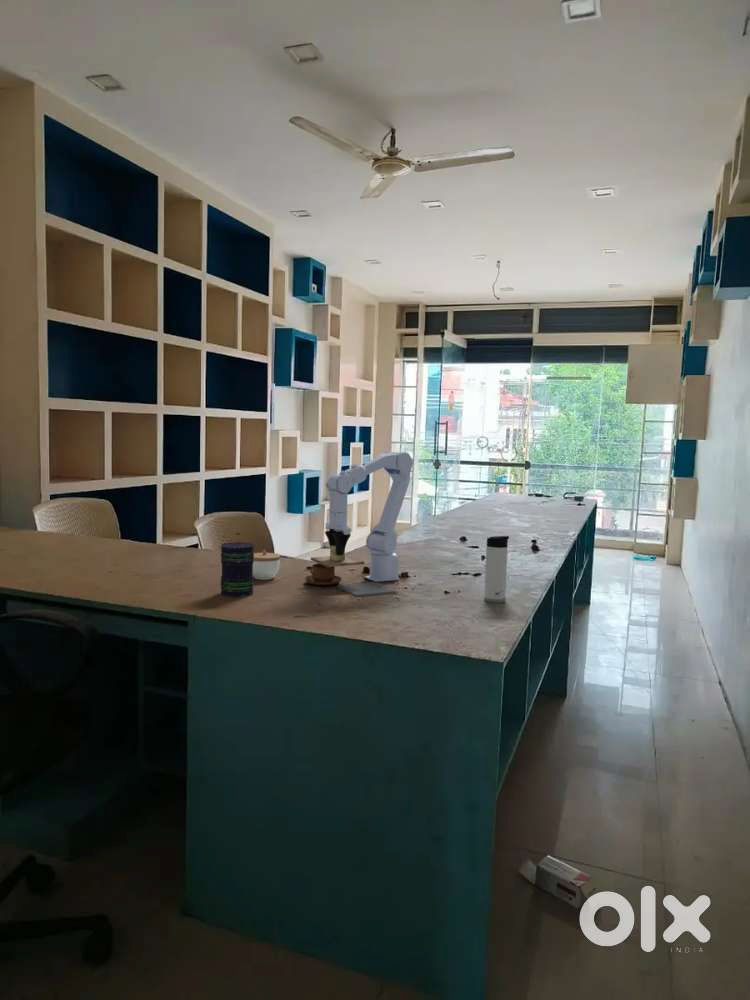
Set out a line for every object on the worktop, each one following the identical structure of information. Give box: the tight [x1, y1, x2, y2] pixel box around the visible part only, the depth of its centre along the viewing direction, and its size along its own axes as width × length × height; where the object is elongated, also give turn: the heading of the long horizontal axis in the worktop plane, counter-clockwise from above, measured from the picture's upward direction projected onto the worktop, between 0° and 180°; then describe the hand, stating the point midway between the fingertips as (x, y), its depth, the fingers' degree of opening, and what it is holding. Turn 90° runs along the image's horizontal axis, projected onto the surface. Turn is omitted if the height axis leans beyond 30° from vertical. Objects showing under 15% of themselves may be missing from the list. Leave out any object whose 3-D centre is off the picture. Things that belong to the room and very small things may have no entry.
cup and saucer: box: [304, 563, 343, 586], centre depth 225 cm, size 12×12×6 cm
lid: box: [310, 545, 365, 567], centre depth 221 cm, size 13×13×5 cm
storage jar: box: [220, 532, 255, 598], centre depth 207 cm, size 10×10×18 cm
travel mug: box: [483, 535, 510, 604], centre depth 207 cm, size 6×7×20 cm
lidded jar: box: [253, 549, 281, 581], centre depth 231 cm, size 11×11×9 cm
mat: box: [336, 581, 398, 598], centre depth 217 cm, size 14×14×1 cm
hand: (337, 553), depth 221 cm, fingers closed on lid, 4 cm apart
